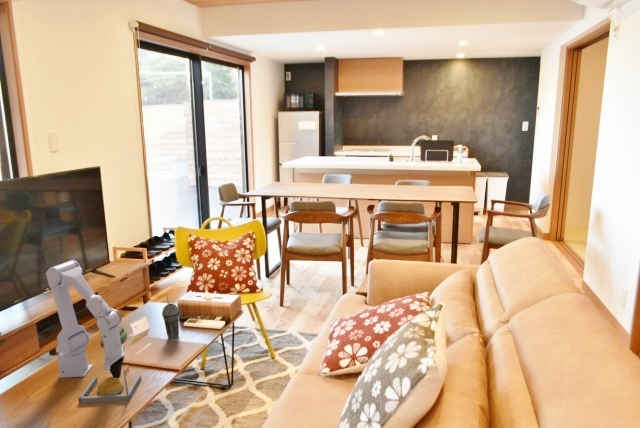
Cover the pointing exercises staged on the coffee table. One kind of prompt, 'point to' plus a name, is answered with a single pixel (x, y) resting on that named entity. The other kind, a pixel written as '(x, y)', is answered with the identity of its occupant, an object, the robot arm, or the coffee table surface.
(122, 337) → the decorative artifact
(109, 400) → the frame
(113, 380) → the bread roll
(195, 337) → the coffee table surface
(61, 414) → the coffee table surface
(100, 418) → the coffee table surface
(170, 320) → the beverage cup
